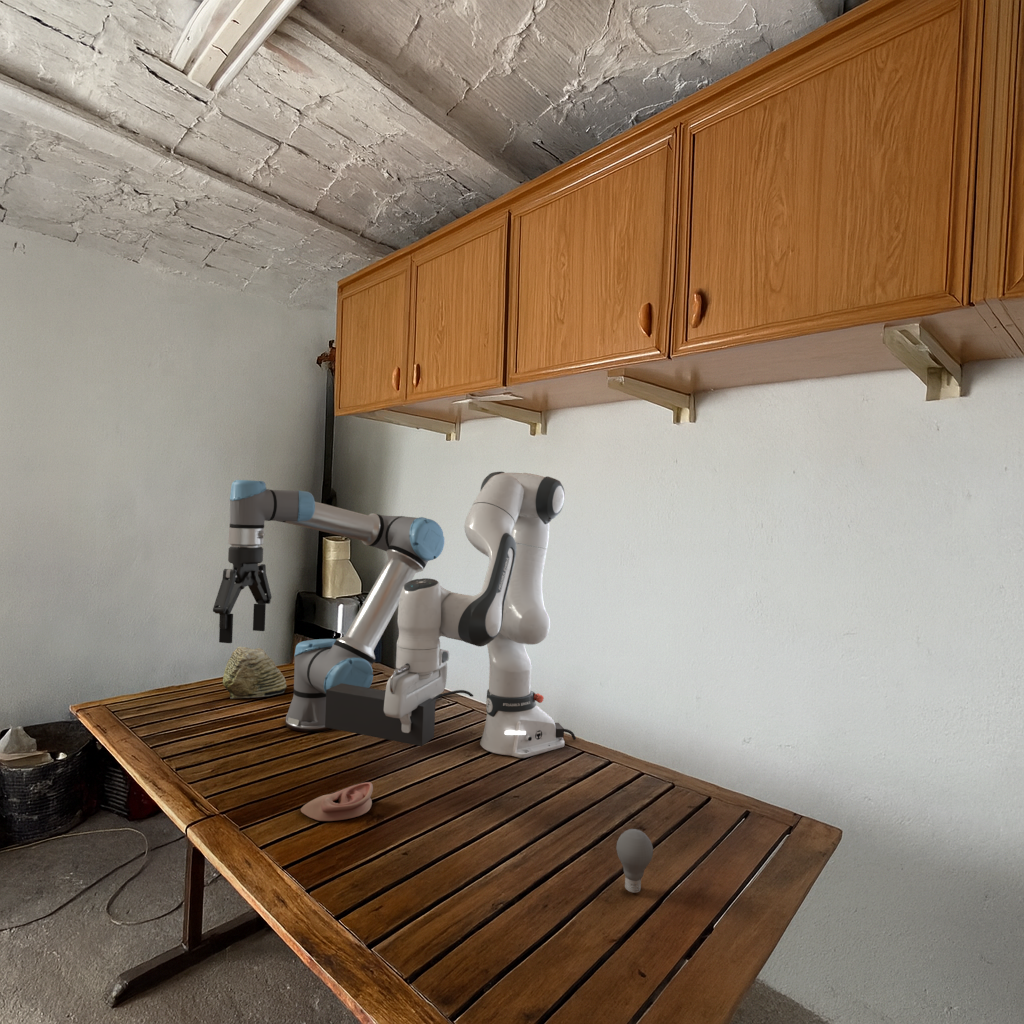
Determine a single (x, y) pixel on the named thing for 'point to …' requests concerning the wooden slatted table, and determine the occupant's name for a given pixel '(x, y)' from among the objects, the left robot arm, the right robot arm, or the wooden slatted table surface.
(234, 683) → the fossil
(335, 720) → the bar
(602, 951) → the wooden slatted table surface
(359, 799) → the anatomical model
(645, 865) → the light bulb
